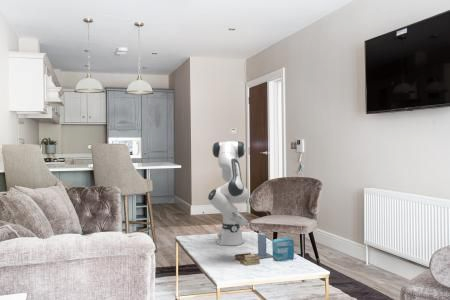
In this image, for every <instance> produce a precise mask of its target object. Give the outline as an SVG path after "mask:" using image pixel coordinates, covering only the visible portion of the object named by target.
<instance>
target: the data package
mask: <svg viewBox="0 0 450 300" xmlns="http://www.w3.org/2000/svg"><path fill="white" fill-rule="evenodd" d="M294 242H295V240H294V239H293V238H290V237H284V238H275V239H272V244H271V246H272V255H273V257H272V259H273V260H274V261H277V262H282V261H291V260H293V259H294V258H295V245H294V244H295V243H294Z"/></svg>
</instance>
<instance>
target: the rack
mask: <svg viewBox="0 0 450 300" xmlns="http://www.w3.org/2000/svg"><path fill="white" fill-rule="evenodd" d="M251 254H252V253H251V252H247V253H246V252H245V253H237V254H236V253H235V254H234V260H235V261H240V264H242V261H244V255H251ZM256 257H257V256H256Z"/></svg>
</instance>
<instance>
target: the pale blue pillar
mask: <svg viewBox="0 0 450 300" xmlns="http://www.w3.org/2000/svg"><path fill="white" fill-rule="evenodd" d="M266 253H267V234H266V233H263V232H258V233H257V254H258V255H260V256H262V257H263V256H266Z"/></svg>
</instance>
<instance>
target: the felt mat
mask: <svg viewBox="0 0 450 300" xmlns="http://www.w3.org/2000/svg"><path fill="white" fill-rule="evenodd" d="M251 255H255V256H257V257H258V258H259V260H262V259H269V258H272V259H273V254H270V253H268V252H266V256H263V257H262V256H260V255H258V253H251Z"/></svg>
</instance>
